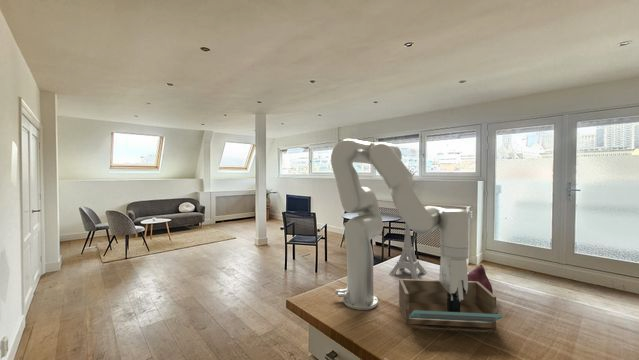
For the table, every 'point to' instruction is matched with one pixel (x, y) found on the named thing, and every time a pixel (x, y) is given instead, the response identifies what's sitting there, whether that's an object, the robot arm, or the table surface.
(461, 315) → the panel
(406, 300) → the tray
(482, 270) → the vegetable
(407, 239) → the eiffel tower
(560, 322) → the table surface
